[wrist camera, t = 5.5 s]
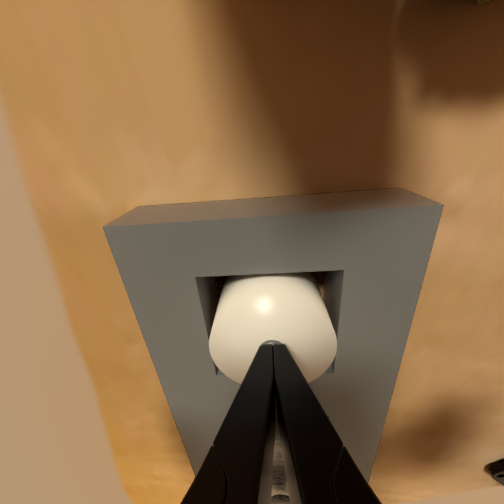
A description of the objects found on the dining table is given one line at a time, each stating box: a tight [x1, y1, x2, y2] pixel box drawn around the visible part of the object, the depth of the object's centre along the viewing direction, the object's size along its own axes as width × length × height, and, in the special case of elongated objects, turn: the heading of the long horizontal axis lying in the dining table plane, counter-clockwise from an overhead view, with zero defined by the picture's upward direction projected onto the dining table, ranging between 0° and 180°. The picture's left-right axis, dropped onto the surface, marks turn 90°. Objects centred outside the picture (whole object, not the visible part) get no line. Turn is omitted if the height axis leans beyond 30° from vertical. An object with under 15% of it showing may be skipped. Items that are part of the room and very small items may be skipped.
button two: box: [271, 416, 290, 504], centre depth 12 cm, size 4×4×3 cm
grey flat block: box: [103, 188, 444, 483], centre depth 14 cm, size 25×10×2 cm, turn 5°
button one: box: [209, 272, 337, 384], centre depth 10 cm, size 4×4×3 cm
